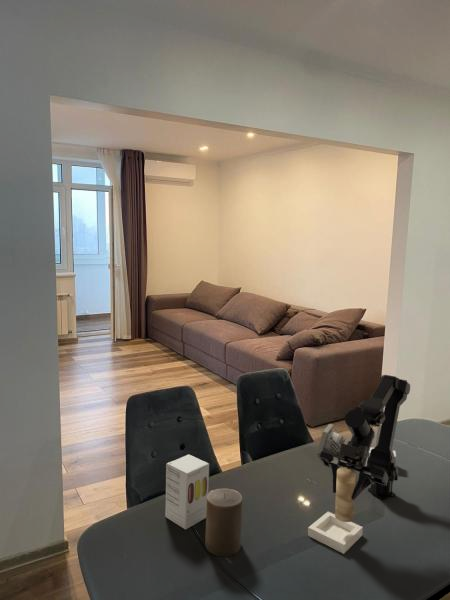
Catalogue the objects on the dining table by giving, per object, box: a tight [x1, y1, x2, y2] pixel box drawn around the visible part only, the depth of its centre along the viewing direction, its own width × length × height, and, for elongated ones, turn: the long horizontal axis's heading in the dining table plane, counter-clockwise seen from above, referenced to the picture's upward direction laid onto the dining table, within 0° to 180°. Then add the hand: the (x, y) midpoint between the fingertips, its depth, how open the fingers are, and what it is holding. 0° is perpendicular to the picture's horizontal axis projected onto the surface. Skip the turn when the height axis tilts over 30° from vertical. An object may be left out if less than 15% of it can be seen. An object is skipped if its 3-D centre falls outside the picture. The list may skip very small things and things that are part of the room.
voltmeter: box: [316, 423, 346, 458], centre depth 174 cm, size 27×11×10 cm, turn 7°
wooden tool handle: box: [334, 467, 357, 522], centre depth 123 cm, size 5×5×13 cm
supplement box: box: [164, 454, 210, 530], centre depth 133 cm, size 10×9×17 cm
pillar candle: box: [204, 488, 243, 558], centre depth 121 cm, size 10×10×15 cm
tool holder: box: [307, 511, 364, 555], centre depth 126 cm, size 11×11×2 cm
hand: (343, 496), depth 122 cm, fingers closed on wooden tool handle, 5 cm apart
